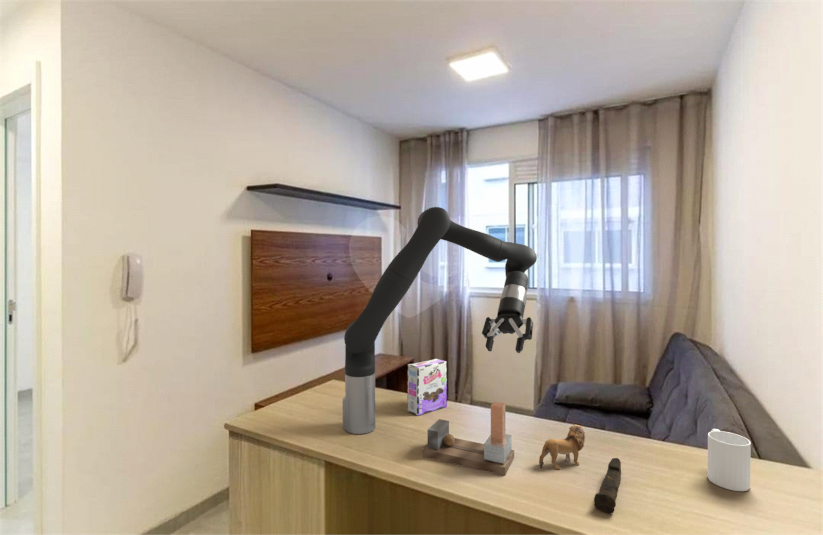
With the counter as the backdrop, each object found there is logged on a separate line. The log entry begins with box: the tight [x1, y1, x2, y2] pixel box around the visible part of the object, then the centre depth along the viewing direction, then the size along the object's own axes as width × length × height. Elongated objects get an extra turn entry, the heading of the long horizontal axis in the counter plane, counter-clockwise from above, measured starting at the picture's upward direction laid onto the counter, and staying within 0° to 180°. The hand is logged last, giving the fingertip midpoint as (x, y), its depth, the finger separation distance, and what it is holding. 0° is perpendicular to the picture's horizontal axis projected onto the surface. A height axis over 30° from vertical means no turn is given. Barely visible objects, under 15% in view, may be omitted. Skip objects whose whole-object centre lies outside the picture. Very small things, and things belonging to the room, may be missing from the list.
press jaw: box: [483, 401, 513, 464], centre depth 104 cm, size 5×8×13 cm, turn 153°
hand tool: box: [593, 457, 622, 514], centre depth 92 cm, size 19×4×5 cm, turn 143°
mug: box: [707, 428, 752, 492], centre depth 97 cm, size 12×8×10 cm, turn 164°
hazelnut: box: [444, 433, 455, 446], centre depth 110 cm, size 3×3×3 cm
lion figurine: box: [538, 424, 586, 470], centre depth 104 cm, size 15×5×9 cm, turn 116°
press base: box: [422, 418, 515, 477], centre depth 108 cm, size 22×10×7 cm, turn 63°
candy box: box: [406, 358, 448, 416], centre depth 143 cm, size 14×6×16 cm, turn 129°
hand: (503, 350), depth 115 cm, fingers open, 8 cm apart
